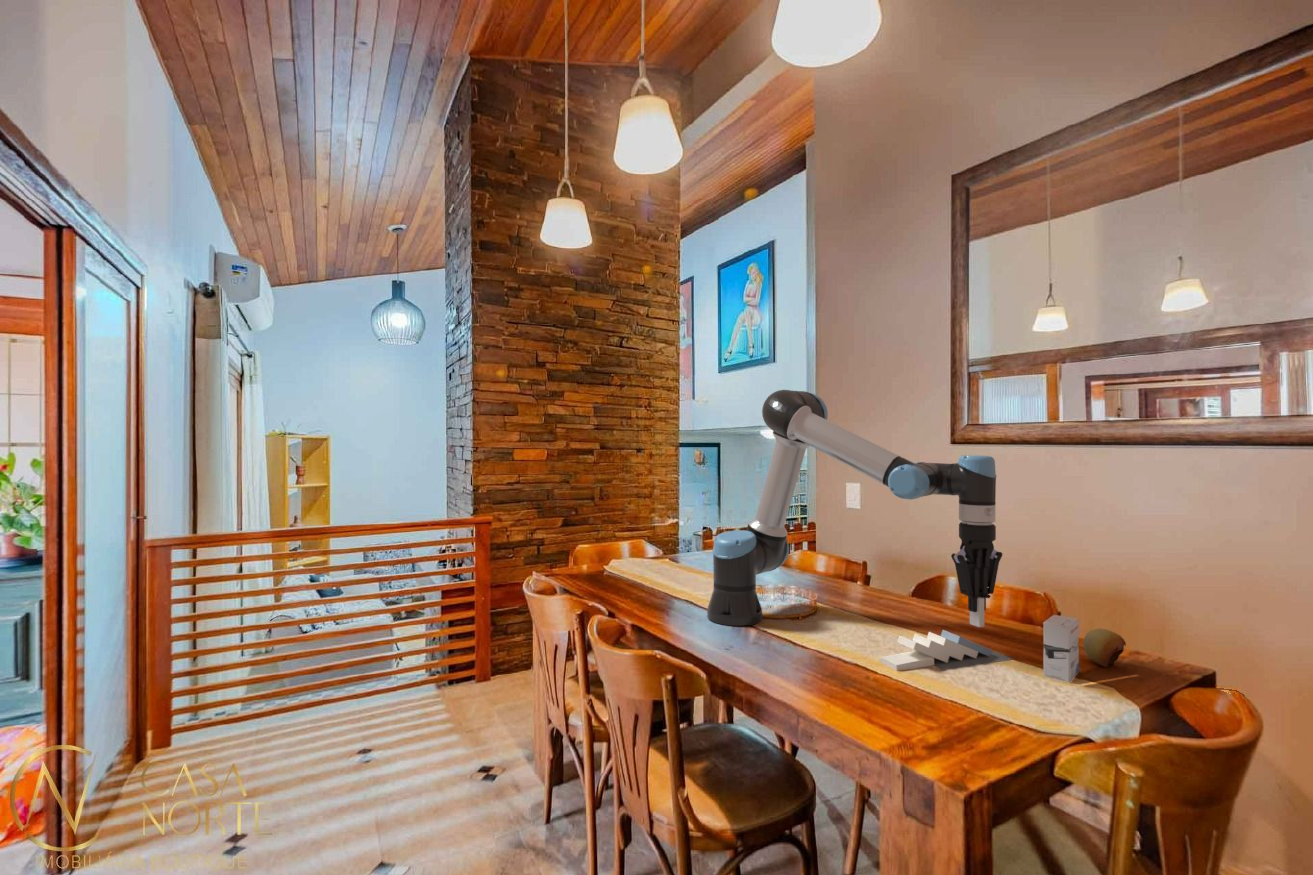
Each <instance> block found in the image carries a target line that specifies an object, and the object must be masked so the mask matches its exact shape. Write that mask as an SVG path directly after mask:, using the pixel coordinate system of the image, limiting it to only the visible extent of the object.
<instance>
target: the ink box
mask: <svg viewBox="0 0 1313 875" xmlns="http://www.w3.org/2000/svg"><path fill="white" fill-rule="evenodd" d="M1079 622H1080V621H1079V618H1077V617H1071V616H1064V615H1057V614H1053V615H1052V616H1050V617H1048V618H1047V619H1046V620H1044V622H1042V625H1043V633H1042V634H1043V654H1042V655H1043V656H1042V657H1043V664H1042V665H1043V677H1045V678H1049V679H1054V680H1056V681H1061V682H1064V683H1071V682H1072V681H1073V680H1074V679H1075V677H1076V676H1078V674H1079V673H1080V659H1079V658H1080V652H1079V650H1080V648H1079V646H1080V645H1079V643H1080V642H1079V638H1080V637H1079V634H1080V632H1079V631H1080V630H1079V628H1080V626H1079V625H1080V624H1079Z"/></svg>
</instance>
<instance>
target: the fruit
mask: <svg viewBox="0 0 1313 875" xmlns="http://www.w3.org/2000/svg"><path fill="white" fill-rule="evenodd" d="M1126 645H1127V644H1126V641H1125V639H1124V638H1123V637H1122V636H1121V635H1120V634H1118V633H1116V632H1115V631H1112V630H1110V629H1109V630H1108V629H1106V628H1094V629H1091V630H1089V631H1088V632H1087V633H1086V634H1085V635H1084V637H1083V640H1082V647H1083V650H1084V653H1085V654H1086V656H1087V657H1088V659H1089V660H1091V661H1092V662H1093V663H1094V664H1097V665H1099V666H1101V667H1103V668H1106V667H1108V666H1109V664H1110V665H1111V666H1114V665H1115V662H1116V661H1117V660H1118V659H1119V657H1120V656H1121V655H1122V654H1123V652H1124V648H1125V647H1126Z"/></svg>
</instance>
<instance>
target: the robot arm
mask: <svg viewBox="0 0 1313 875" xmlns="http://www.w3.org/2000/svg"><path fill="white" fill-rule="evenodd" d="M761 411H762V412H761V414H762V420H763V421H764V423H765V425H766V426H767V427H768V428H769V429H770V430H772V435H773V437H774V438H775V444H774V446H773V447H774V448H773V450H772V455H771V458H770V463H769V466H768V470H767V473H766V477H765V481H764V484H763V485H764V486H763V487H762V488H763V489H762V492H761V495H760V499H759V503H758V507H757V510H756V514H755V517H754V518H753V519H751V520H749V521H748V523H747V527H746V529H745V530H743V529H742V530H741V529H736V530H735V529H734V530H728V531H724V532H721V533H718V534H717V535H716V536H715V537H714V539H713V548H712V553H713V557H712V558H713V591H712V593H711V597H710V600H709V603H708V606H707V612H706V617H707V619H708V620H709V621H711V622H713V623H716V624H719V625H723V626H725V625H726V626H734V627H735V626H737V627H738V626H739V627H740V626H742V627H744V626H750V625H755V624H758V623H760V622H762V621H763V609H762V606H761V603H760V598H759V596H758V592H757V587H756V586H757V584H756V581H757V577H756V576H757V575H759V574H764V573H767V572H772V571H775V570H777V569H778V568H780V567H781V566H783V565H784V564H785V562H786V561H787V559H788V558H789V554H790V544H789V543H788V539H787V537H788V531H787V528H786V527H785V524H786V521H787V519H788V514H789V510H790V507H791V504H792V500H793V496H794V493H795V489H796V486H797V483H798V482H797V481H798V478H799V474H800V471H801V468H802V465H803V461H804V457H805V454H806V450H807V448H809V447H812V448H814V449H816V450H818V451H820V452H821V453H824V454H825V455H827V456H830V457H831V458H833V459H834V460H836V461H839V462H840V463H842V464H844V465H846V466H848V467H849V468H852V469H854V470H856V471H858V472H860V473H862V474H863V475H865V476H867V477H869V478H871V479H872V480H875V481H876V482H878V483H880V484H882V485H884V486H886V487H887V488H889V489H890V491H891V493H892V494H893V495H894V496H895V497H897V498H899V499H904V500H915V499H920V498H923V497H927V496H931V495H938V496H941V495H943V496H944V495H945V496H958V521H960V522H959V524H958V537H959V539H960V540H961V544H960V547H959V551H957V552H956V553H951V558H952V559H951V560H952V561H953V562H954V565H955V571H956V576H957V581H958V587H959V592H960V594H962V595H964V596H966V597H967V609H968V611H969V625H972V626H974V627H977V628H985V612H986V608H987V605H986V604H987V599H990V598H991V595H993V594H994V592H995V586H996V581H997V576H998V570H999V564H1000V562H1001V559H1002V557H1003V552H1001V551H998V550H996V549H995V546H994V541H996V538H997V535H996V534H997V533H996V532H997V530H996V529H997V526H996V525H995V524H994V523H995V522H996V504H997V503H996V489H997V483H996V482H997V474H996V471H997V470H996V460H995V458H994V457H993V456H990V455H969V454H968V455H960V456H959V457H958V462H957V463H943V462H942V463H939V462H925V461H919V462H913V461H911V460H908V459H906V458H905V457H902V456H900V455H899V454H897V453H895V452H892V451H890V450H888V449H886V448H884V447H882V446H880V445H878V444H876V443H874V442H872V441H870V440H868V439H867V438H864V437H863V436H860V435H858V434H857V433H854V432H852V431H850V430H848V429H846V428H843V427H842V426H840V425H838V424H835V423H834V422H832V421H830V420H828V418H829V417H828V415H829V414H828V408H827V405H826V403H825V402H824V400H823V399H822V397H820V396H819V395H818V394H814V393H812V392H809V391H804V390H801V391H800V390H791V389H780V390H776V391H774V392H772V393H771V394H770V395H769V396H768V397H766V399H765V400H764V402H763V405H762V409H761Z"/></svg>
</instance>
